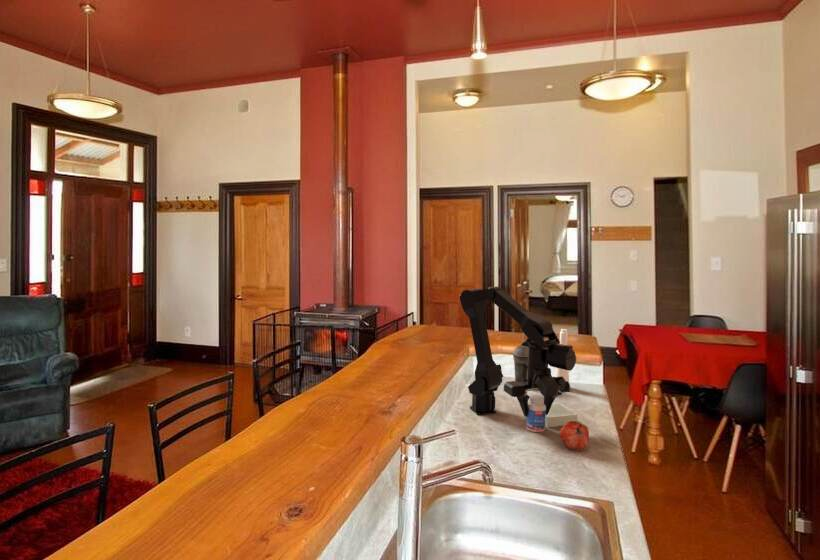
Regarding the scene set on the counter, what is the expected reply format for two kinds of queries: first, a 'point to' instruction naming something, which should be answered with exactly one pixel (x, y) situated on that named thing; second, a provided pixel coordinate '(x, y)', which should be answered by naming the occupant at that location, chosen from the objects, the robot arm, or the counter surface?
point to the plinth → (559, 416)
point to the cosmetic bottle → (563, 341)
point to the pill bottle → (536, 414)
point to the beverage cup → (520, 363)
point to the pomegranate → (575, 435)
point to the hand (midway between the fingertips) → (535, 415)
